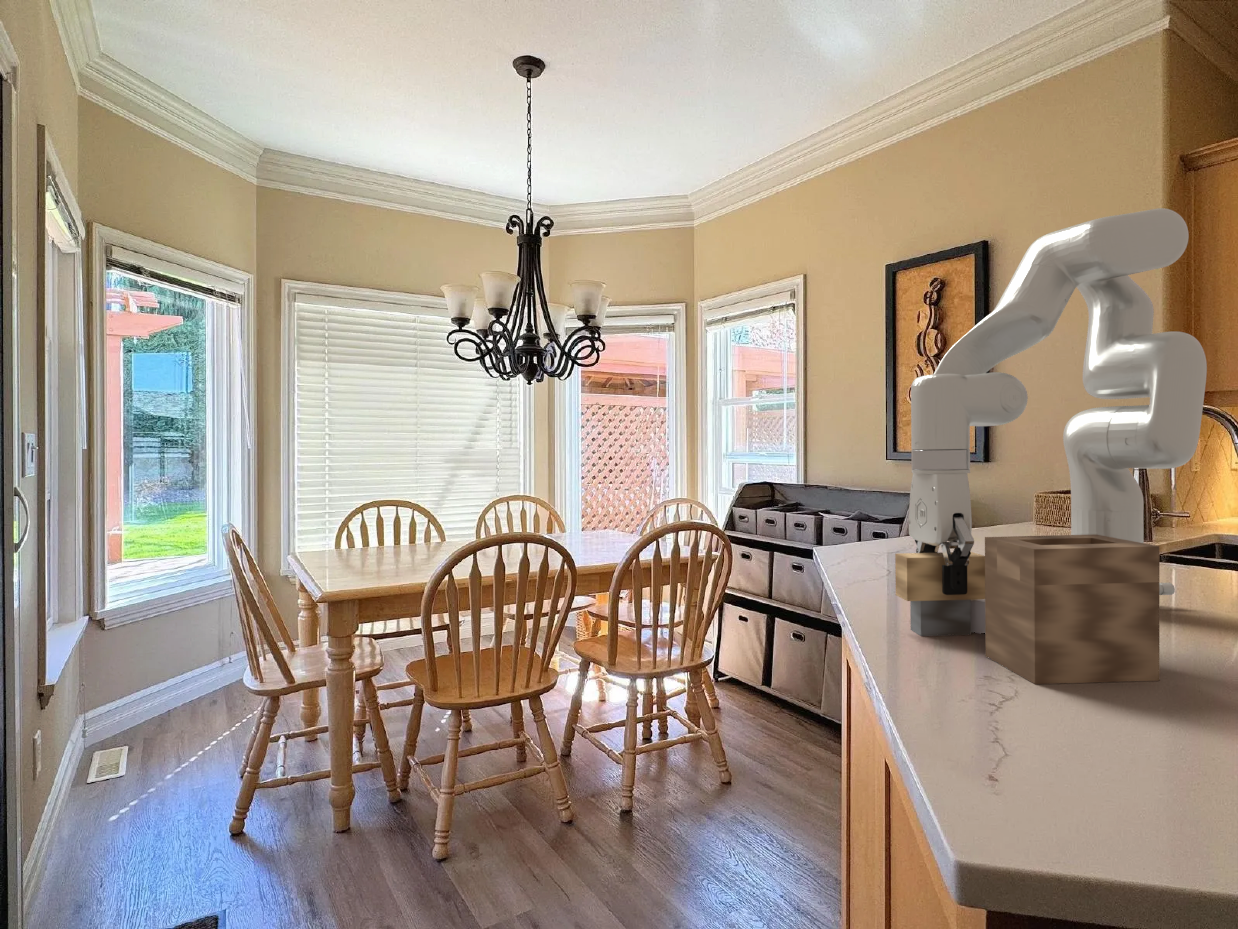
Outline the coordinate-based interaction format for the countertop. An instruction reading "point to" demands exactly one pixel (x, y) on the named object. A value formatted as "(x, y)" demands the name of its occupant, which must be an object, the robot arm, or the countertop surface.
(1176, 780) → the countertop surface
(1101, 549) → the wooden crate
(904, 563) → the tan rectangular block
